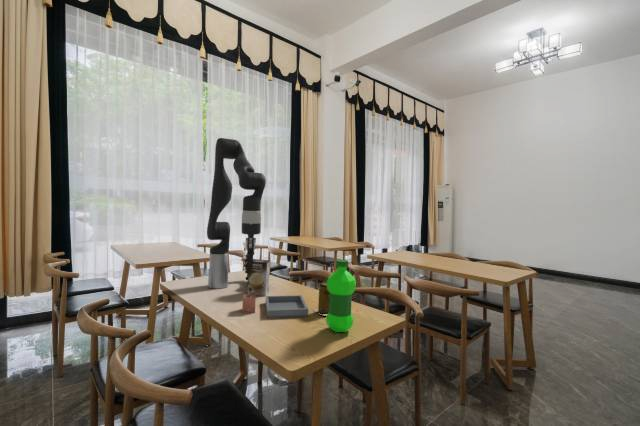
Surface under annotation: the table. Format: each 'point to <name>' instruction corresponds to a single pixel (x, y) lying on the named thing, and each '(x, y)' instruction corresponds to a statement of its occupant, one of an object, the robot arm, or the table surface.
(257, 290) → the coffee box
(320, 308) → the condiment
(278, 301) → the tray
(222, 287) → the robot arm
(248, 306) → the red block
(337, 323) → the plastic bottle
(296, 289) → the table surface
